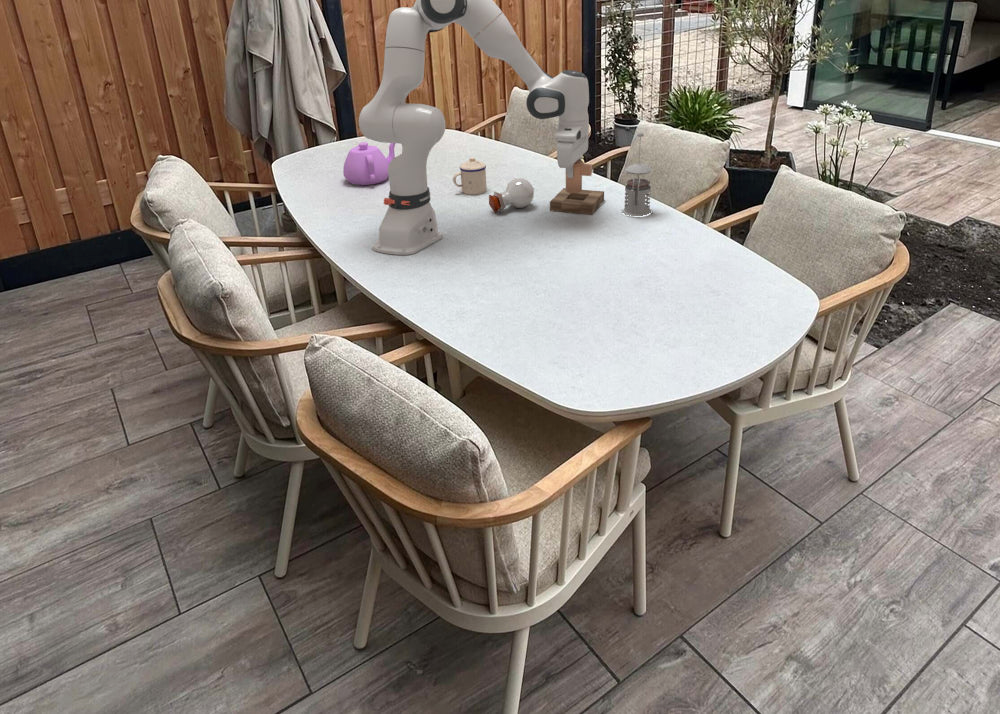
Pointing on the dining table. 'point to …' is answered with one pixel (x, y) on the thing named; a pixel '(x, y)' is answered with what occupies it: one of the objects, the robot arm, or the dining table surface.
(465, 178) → the teacup with lid
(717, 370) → the dining table surface
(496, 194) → the potion bottle
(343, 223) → the dining table surface
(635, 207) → the french press
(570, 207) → the holder
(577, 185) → the copper mug
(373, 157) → the teapot
